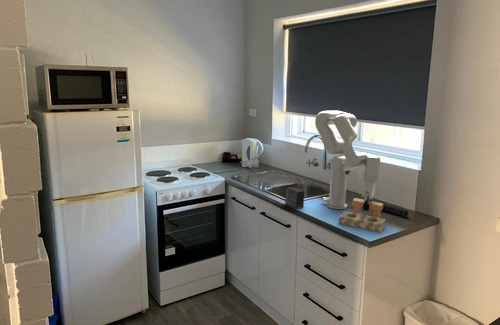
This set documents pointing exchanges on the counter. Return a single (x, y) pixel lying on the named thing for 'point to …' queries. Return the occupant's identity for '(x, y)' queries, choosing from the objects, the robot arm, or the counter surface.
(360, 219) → the slotted tan block
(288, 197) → the small box
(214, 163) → the counter surface
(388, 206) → the flashlight
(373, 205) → the tan wedge board
